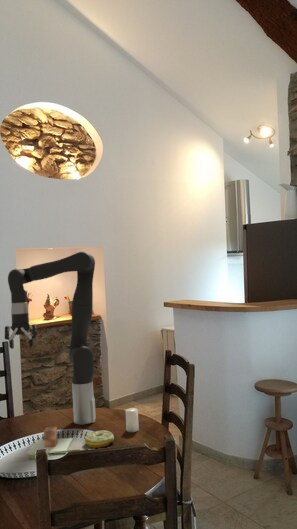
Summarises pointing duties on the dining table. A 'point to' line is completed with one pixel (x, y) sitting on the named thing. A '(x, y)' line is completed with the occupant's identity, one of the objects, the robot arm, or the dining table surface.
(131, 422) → the white rounded cylinder
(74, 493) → the dining table surface
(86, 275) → the robot arm
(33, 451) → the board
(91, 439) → the decorated donut
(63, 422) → the dining table surface
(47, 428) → the terracotta block
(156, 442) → the dining table surface
